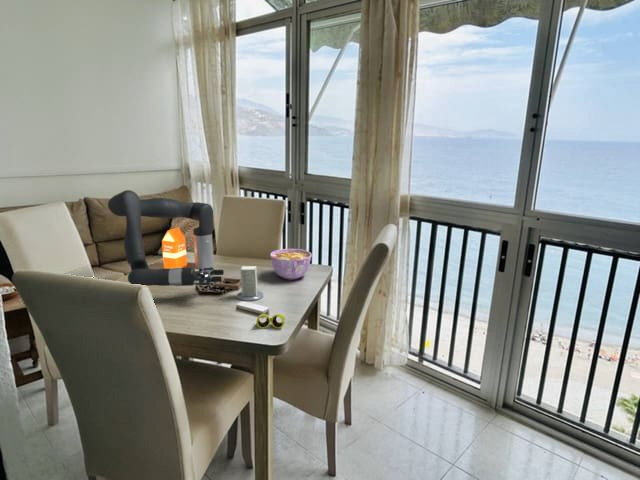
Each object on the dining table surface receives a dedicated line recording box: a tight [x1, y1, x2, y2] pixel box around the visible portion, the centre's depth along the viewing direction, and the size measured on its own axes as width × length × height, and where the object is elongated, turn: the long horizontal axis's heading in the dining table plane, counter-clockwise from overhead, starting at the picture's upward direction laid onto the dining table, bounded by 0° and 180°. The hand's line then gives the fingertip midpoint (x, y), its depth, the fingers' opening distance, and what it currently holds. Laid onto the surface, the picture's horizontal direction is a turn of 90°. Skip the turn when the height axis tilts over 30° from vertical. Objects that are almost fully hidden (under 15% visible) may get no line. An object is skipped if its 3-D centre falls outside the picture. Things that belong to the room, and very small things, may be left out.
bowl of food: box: [269, 248, 313, 280], centre depth 191 cm, size 20×20×12 cm
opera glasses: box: [256, 313, 286, 329], centre depth 141 cm, size 10×5×5 cm, turn 92°
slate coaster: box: [236, 290, 264, 302], centre depth 168 cm, size 11×11×1 cm
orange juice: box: [161, 227, 188, 269], centre depth 202 cm, size 8×9×20 cm
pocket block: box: [214, 276, 242, 291], centre depth 179 cm, size 9×11×2 cm
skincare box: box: [240, 265, 259, 296], centre depth 166 cm, size 6×4×12 cm
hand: (222, 275), depth 164 cm, fingers open, 8 cm apart
